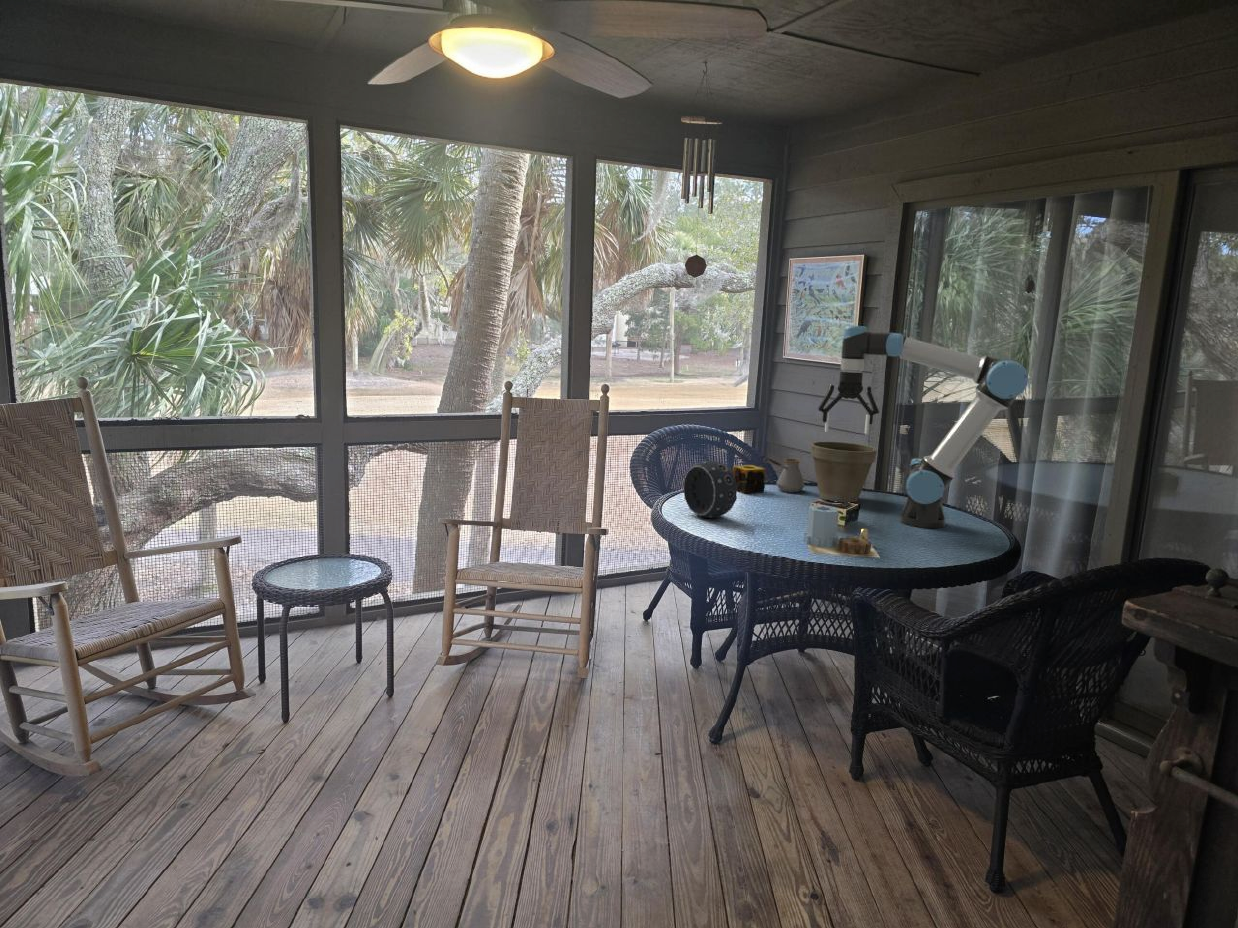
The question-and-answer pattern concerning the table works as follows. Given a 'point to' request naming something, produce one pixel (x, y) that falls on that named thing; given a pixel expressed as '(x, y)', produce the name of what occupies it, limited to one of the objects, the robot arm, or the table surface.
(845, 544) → the fixed gear
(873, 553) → the gear board
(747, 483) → the candle
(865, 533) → the far peg
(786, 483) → the coffee pot
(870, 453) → the plant pot
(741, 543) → the table surface
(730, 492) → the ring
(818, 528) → the blue gear
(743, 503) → the table surface
